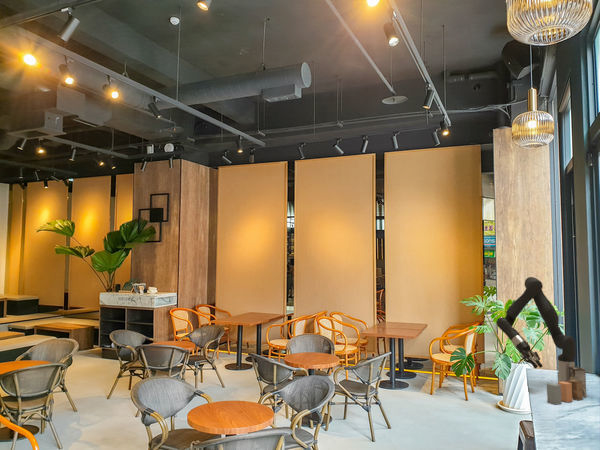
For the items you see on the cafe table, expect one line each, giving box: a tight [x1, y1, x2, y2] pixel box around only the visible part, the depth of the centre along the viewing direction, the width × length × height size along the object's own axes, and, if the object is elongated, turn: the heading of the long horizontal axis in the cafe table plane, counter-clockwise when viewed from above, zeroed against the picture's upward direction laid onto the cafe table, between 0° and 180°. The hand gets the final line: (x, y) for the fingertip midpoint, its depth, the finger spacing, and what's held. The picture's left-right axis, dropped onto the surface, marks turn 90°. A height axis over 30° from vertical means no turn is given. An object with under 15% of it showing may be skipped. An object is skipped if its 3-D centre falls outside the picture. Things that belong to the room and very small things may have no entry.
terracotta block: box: [557, 381, 573, 403], centre depth 260 cm, size 5×5×10 cm
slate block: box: [546, 382, 563, 405], centre depth 256 cm, size 5×5×10 cm
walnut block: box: [568, 380, 584, 401], centre depth 265 cm, size 5×5×10 cm
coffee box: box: [569, 366, 588, 399], centre depth 273 cm, size 9×6×16 cm
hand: (539, 367), depth 275 cm, fingers open, 4 cm apart
